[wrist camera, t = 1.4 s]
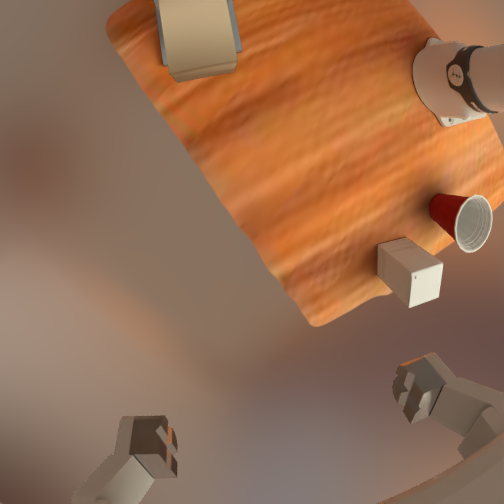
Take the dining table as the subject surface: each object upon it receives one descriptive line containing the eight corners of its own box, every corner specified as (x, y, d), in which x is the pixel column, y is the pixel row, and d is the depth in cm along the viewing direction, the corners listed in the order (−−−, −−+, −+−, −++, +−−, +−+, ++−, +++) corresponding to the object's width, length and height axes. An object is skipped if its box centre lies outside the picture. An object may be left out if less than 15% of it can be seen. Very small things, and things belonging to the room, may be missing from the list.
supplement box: (376, 276, 59) (407, 309, 47) (376, 243, 56) (411, 272, 44) (405, 268, 59) (439, 298, 47) (407, 236, 56) (444, 262, 44)
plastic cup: (448, 171, 51) (488, 185, 40) (460, 214, 55) (496, 233, 44) (412, 197, 53) (451, 215, 42) (427, 239, 57) (462, 263, 46)
